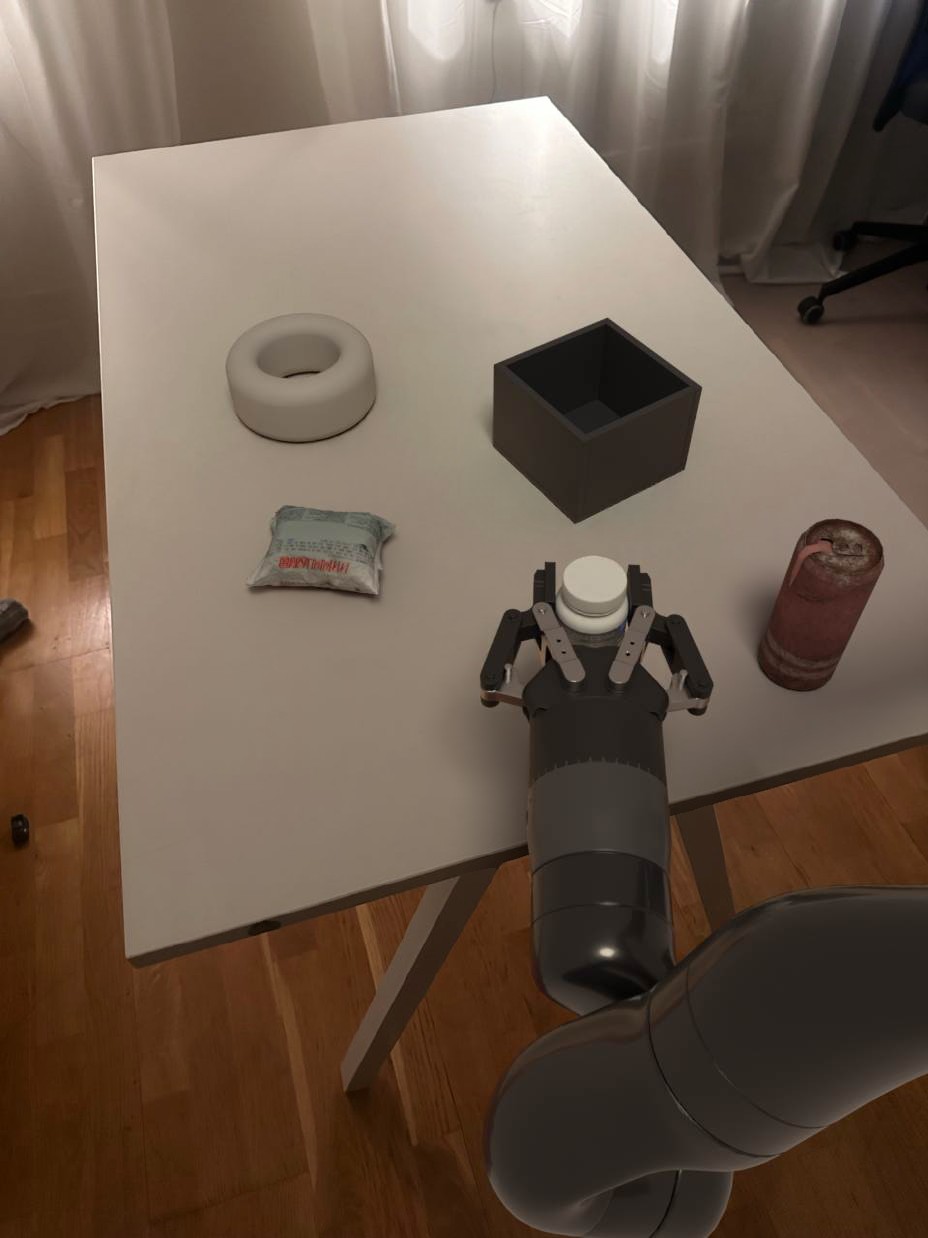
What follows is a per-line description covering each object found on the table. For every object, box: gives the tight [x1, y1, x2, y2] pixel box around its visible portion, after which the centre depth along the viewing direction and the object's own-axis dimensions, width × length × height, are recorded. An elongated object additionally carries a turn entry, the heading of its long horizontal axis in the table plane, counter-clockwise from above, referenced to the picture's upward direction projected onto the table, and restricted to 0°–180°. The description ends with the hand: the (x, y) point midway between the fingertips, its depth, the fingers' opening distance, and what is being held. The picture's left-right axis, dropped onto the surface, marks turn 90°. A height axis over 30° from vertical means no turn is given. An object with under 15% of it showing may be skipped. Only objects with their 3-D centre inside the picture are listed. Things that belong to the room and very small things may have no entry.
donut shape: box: [225, 312, 377, 443], centre depth 99 cm, size 15×15×7 cm
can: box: [757, 518, 885, 691], centre depth 73 cm, size 6×6×14 cm
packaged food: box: [244, 504, 397, 596], centre depth 84 cm, size 9×12×5 cm
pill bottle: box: [555, 555, 629, 648], centre depth 62 cm, size 5×5×8 cm
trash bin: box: [492, 317, 703, 524], centre depth 91 cm, size 14×14×10 cm
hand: (590, 572), depth 62 cm, fingers closed on pill bottle, 4 cm apart
